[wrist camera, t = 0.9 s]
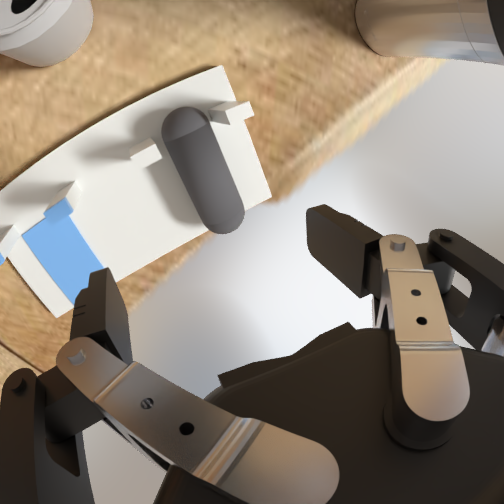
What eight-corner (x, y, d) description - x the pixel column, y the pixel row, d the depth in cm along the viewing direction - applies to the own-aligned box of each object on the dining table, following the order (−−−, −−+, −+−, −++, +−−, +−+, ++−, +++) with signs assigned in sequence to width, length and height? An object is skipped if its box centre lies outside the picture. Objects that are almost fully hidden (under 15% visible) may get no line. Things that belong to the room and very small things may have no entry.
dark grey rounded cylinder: (151, 119, 24) (155, 120, 20) (193, 99, 24) (205, 98, 21) (205, 231, 30) (217, 249, 27) (241, 212, 31) (257, 227, 28)
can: (64, 79, 20) (24, 61, 10) (3, 55, 16) (-61, 34, 6) (110, 7, 18) (106, -52, 8) (47, -15, 14) (14, -73, 4)
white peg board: (218, 66, 24) (245, 56, 19) (266, 193, 32) (300, 215, 27) (-18, 206, 21) (-47, 234, 15) (57, 311, 28) (50, 354, 23)
